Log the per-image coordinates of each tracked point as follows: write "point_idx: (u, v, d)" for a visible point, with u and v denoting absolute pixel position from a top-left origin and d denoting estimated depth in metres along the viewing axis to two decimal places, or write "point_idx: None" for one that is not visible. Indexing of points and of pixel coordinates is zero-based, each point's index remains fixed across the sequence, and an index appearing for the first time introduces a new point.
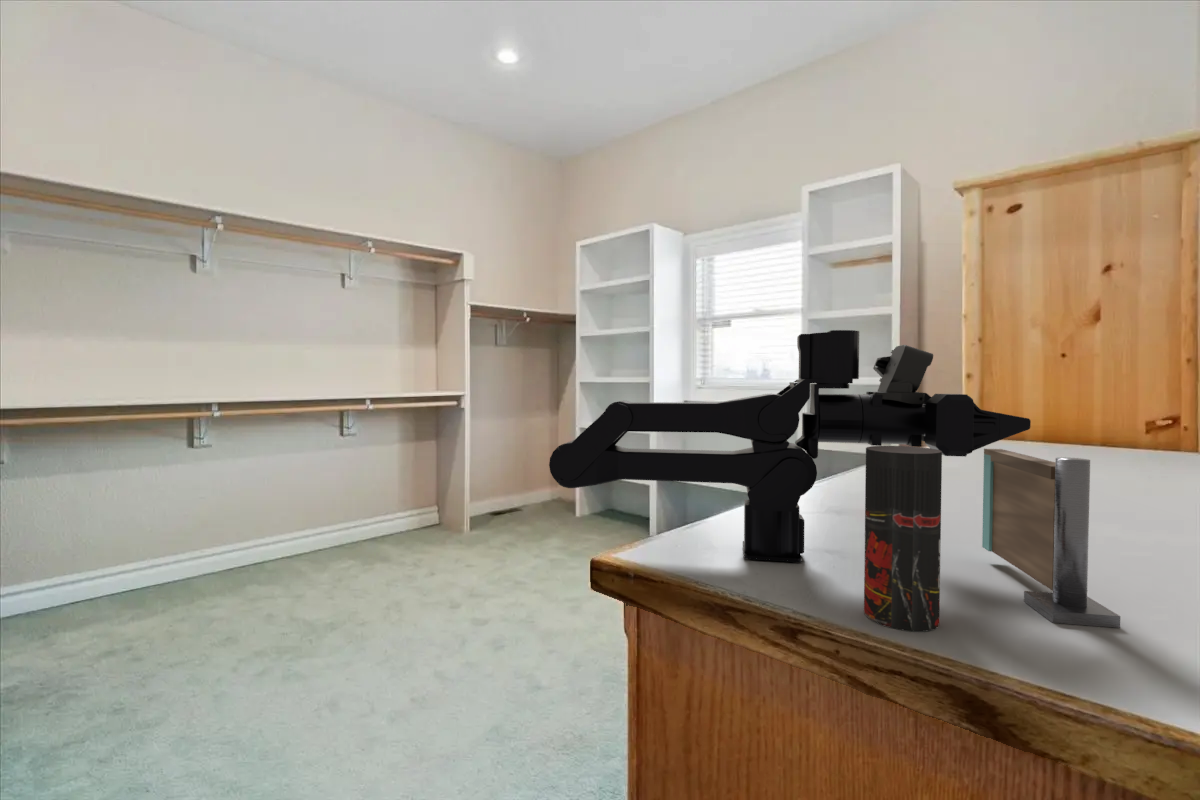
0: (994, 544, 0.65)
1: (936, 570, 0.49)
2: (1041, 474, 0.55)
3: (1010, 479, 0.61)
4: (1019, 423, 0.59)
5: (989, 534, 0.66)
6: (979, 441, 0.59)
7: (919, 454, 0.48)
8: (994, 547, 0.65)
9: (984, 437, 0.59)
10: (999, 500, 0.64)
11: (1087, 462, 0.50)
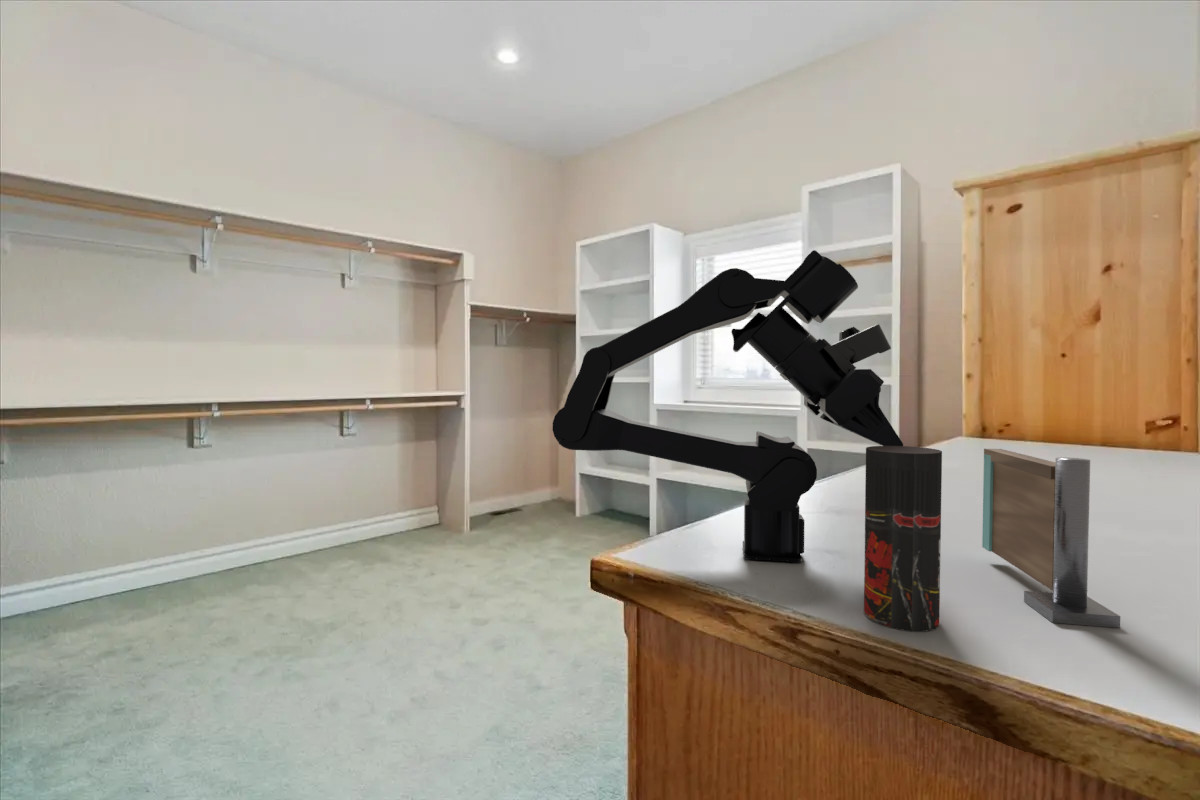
0: (994, 544, 0.65)
1: (936, 570, 0.49)
2: (1041, 474, 0.55)
3: (1010, 479, 0.61)
4: (893, 440, 0.63)
5: (989, 534, 0.66)
6: (855, 426, 0.63)
7: (919, 454, 0.48)
8: (994, 547, 0.65)
9: (861, 427, 0.63)
10: (999, 500, 0.64)
11: (1087, 462, 0.50)
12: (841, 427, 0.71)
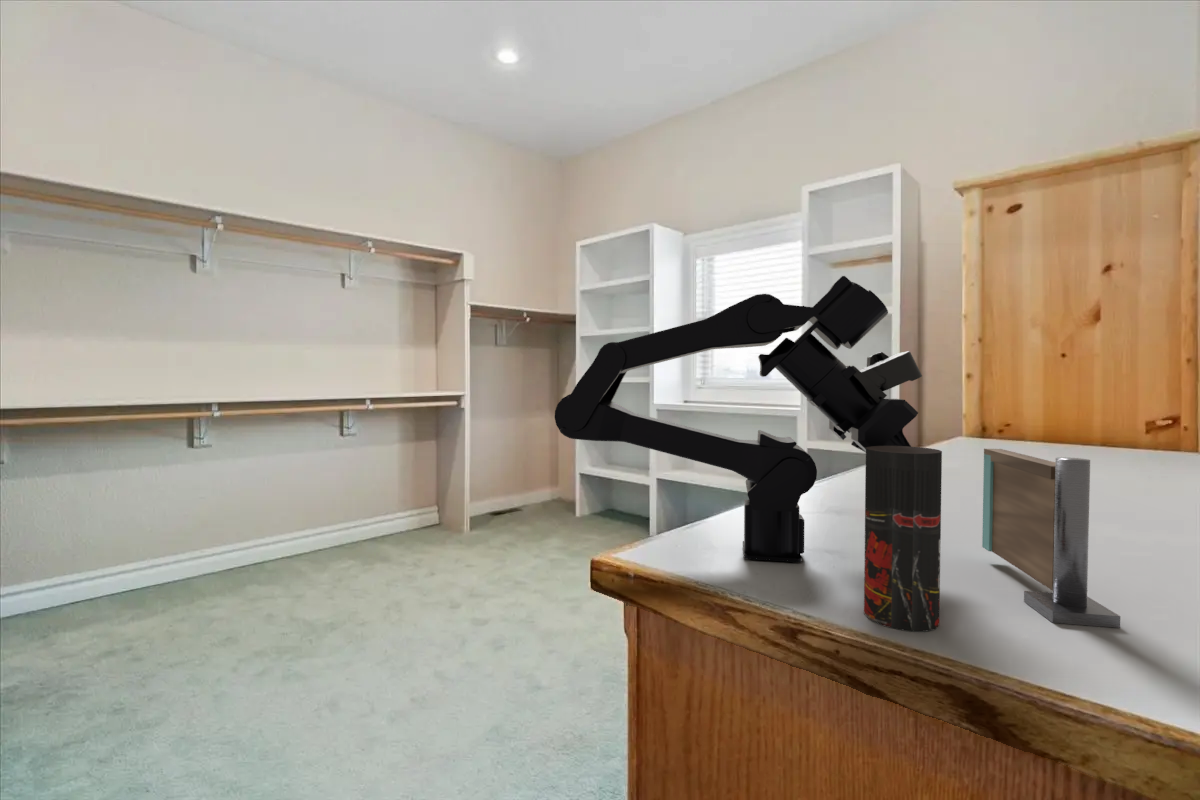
0: (994, 544, 0.65)
1: (936, 570, 0.49)
2: (1041, 474, 0.55)
3: (1010, 479, 0.61)
4: None
5: (989, 534, 0.66)
6: None
7: (919, 454, 0.48)
8: (994, 547, 0.65)
9: None
10: (999, 500, 0.64)
11: (1087, 462, 0.50)
12: None
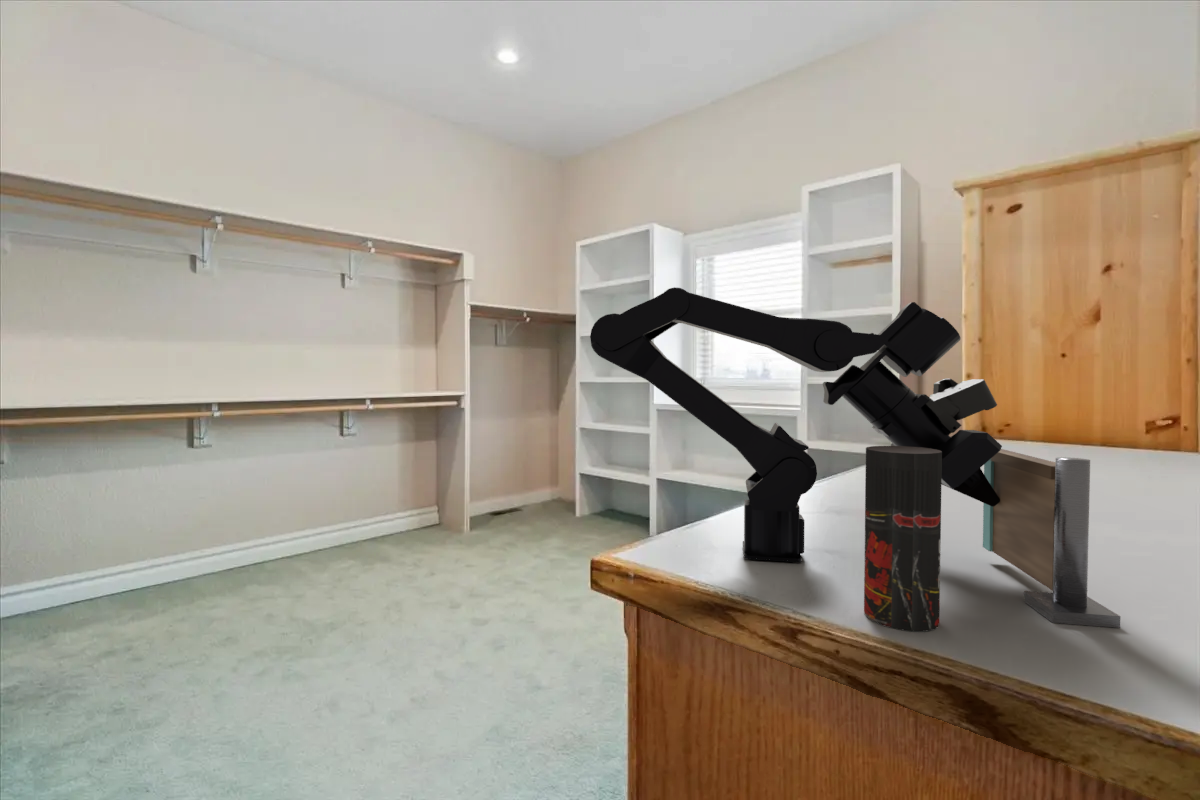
0: (994, 544, 0.65)
1: (936, 570, 0.49)
2: (1041, 474, 0.55)
3: (1011, 479, 0.61)
4: (990, 496, 0.64)
5: (989, 534, 0.66)
6: None
7: (919, 454, 0.48)
8: (994, 547, 0.65)
9: None
10: (1000, 500, 0.64)
11: (1087, 462, 0.50)
12: None
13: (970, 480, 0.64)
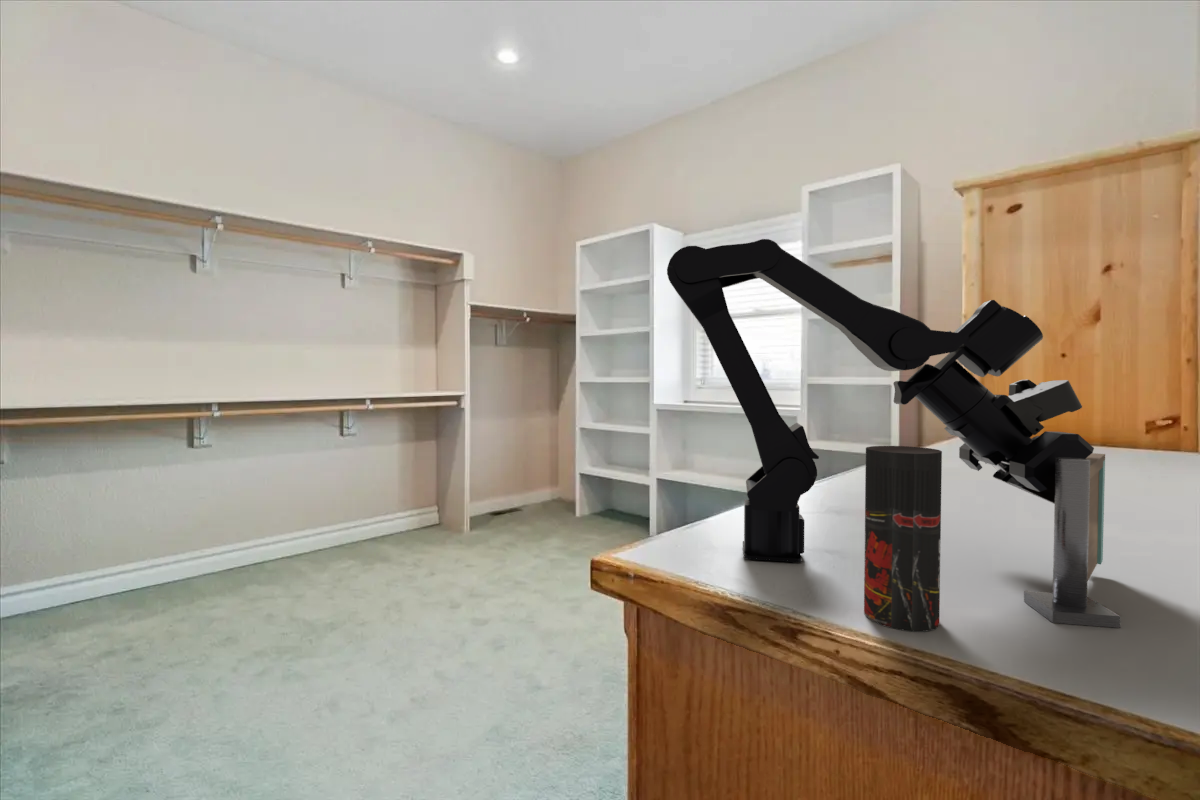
0: None
1: (936, 570, 0.49)
2: None
3: None
4: None
5: None
6: None
7: (919, 454, 0.48)
8: None
9: None
10: None
11: (1087, 462, 0.50)
12: None
13: (1051, 484, 0.61)
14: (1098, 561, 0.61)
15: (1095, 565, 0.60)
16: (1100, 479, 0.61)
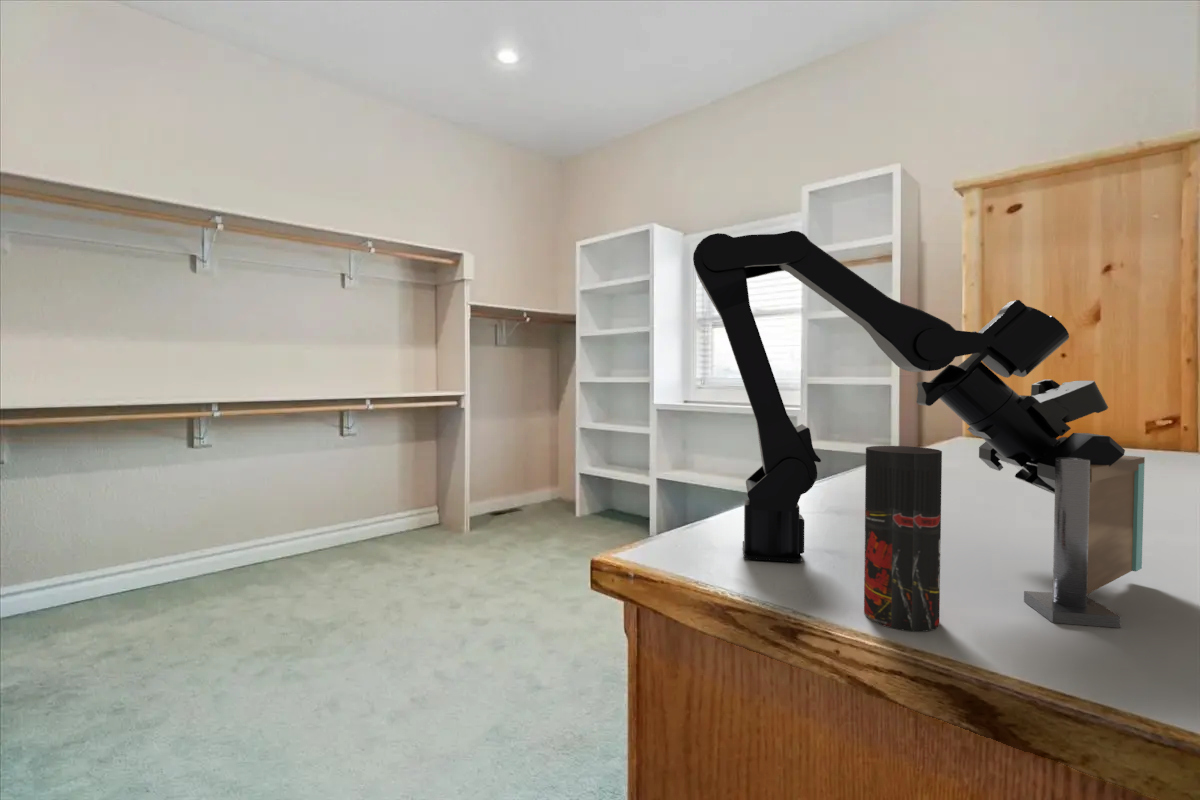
0: None
1: (936, 570, 0.49)
2: None
3: None
4: None
5: None
6: None
7: (919, 454, 0.48)
8: None
9: None
10: None
11: (1087, 462, 0.50)
12: (1046, 490, 0.64)
13: None
14: (1133, 568, 0.59)
15: (1127, 571, 0.58)
16: (1135, 483, 0.59)
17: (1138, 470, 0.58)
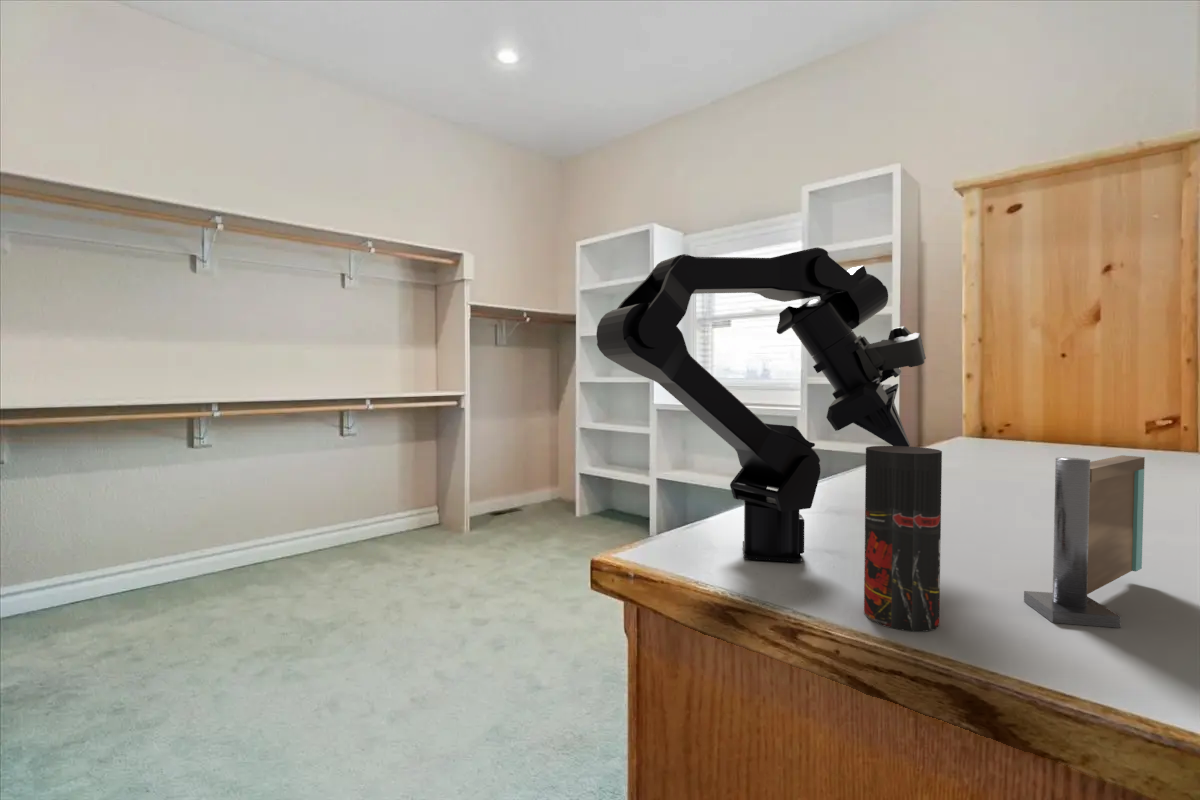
0: None
1: (936, 570, 0.49)
2: None
3: None
4: (900, 442, 0.70)
5: None
6: (865, 424, 0.71)
7: (919, 454, 0.48)
8: None
9: (871, 425, 0.71)
10: None
11: (1087, 462, 0.50)
12: None
13: (883, 424, 0.70)
14: (1133, 568, 0.59)
15: (1127, 571, 0.58)
16: (1135, 483, 0.59)
17: (1138, 470, 0.58)
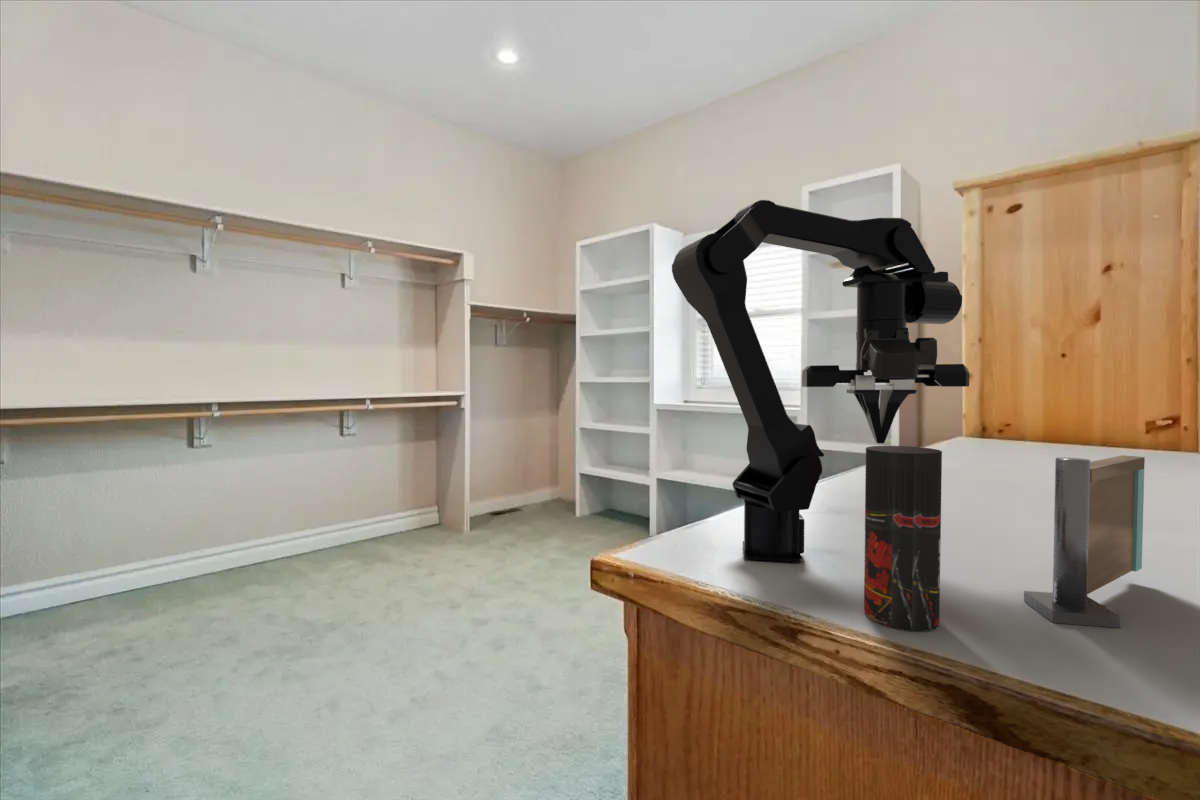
0: None
1: (936, 570, 0.49)
2: None
3: None
4: (873, 434, 0.74)
5: None
6: (861, 402, 0.76)
7: (919, 454, 0.48)
8: None
9: (863, 406, 0.76)
10: None
11: (1087, 462, 0.50)
12: None
13: (868, 411, 0.75)
14: (1133, 568, 0.59)
15: (1127, 571, 0.58)
16: (1135, 483, 0.59)
17: (1138, 470, 0.58)
